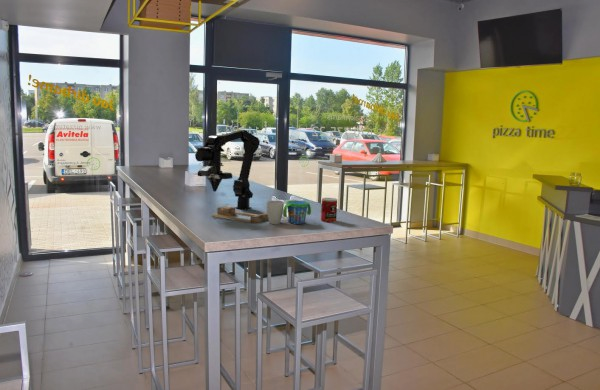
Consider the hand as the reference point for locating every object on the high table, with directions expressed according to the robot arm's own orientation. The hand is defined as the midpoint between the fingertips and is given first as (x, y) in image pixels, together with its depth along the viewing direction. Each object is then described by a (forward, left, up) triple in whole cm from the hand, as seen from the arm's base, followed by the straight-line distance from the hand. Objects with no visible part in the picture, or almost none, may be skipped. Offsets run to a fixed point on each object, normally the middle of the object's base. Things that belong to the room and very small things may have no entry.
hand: (214, 191), depth 247 cm
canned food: (-23, +54, -11) cm, 60 cm away
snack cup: (-8, +45, -11) cm, 47 cm away
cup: (-1, +37, -11) cm, 39 cm away
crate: (0, +8, -11) cm, 14 cm away
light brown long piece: (0, +17, -11) cm, 20 cm away
